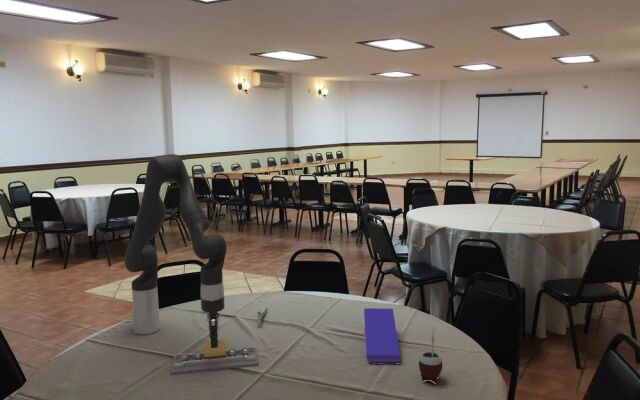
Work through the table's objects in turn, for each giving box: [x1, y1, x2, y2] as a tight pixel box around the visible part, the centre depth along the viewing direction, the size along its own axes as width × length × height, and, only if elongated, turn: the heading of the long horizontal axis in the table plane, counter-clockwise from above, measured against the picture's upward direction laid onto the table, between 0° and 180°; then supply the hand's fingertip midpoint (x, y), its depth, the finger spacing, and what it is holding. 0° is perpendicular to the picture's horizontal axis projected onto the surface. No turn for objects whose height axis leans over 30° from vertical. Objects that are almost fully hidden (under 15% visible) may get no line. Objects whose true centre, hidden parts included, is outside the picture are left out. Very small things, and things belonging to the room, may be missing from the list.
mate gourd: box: [418, 326, 444, 383], centre depth 158 cm, size 8×8×15 cm
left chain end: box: [174, 351, 215, 369], centre depth 171 cm, size 13×8×3 cm, turn 101°
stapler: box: [363, 307, 401, 365], centre depth 182 cm, size 12×28×10 cm, turn 179°
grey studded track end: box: [215, 346, 255, 364], centre depth 174 cm, size 13×8×3 cm, turn 101°
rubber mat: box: [170, 347, 260, 376], centre depth 173 cm, size 28×12×1 cm, turn 101°
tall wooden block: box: [203, 339, 227, 359], centre depth 172 cm, size 3×7×6 cm, turn 101°
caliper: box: [257, 307, 269, 328], centre depth 210 cm, size 20×1×6 cm, turn 178°
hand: (214, 341), depth 172 cm, fingers open, 8 cm apart
